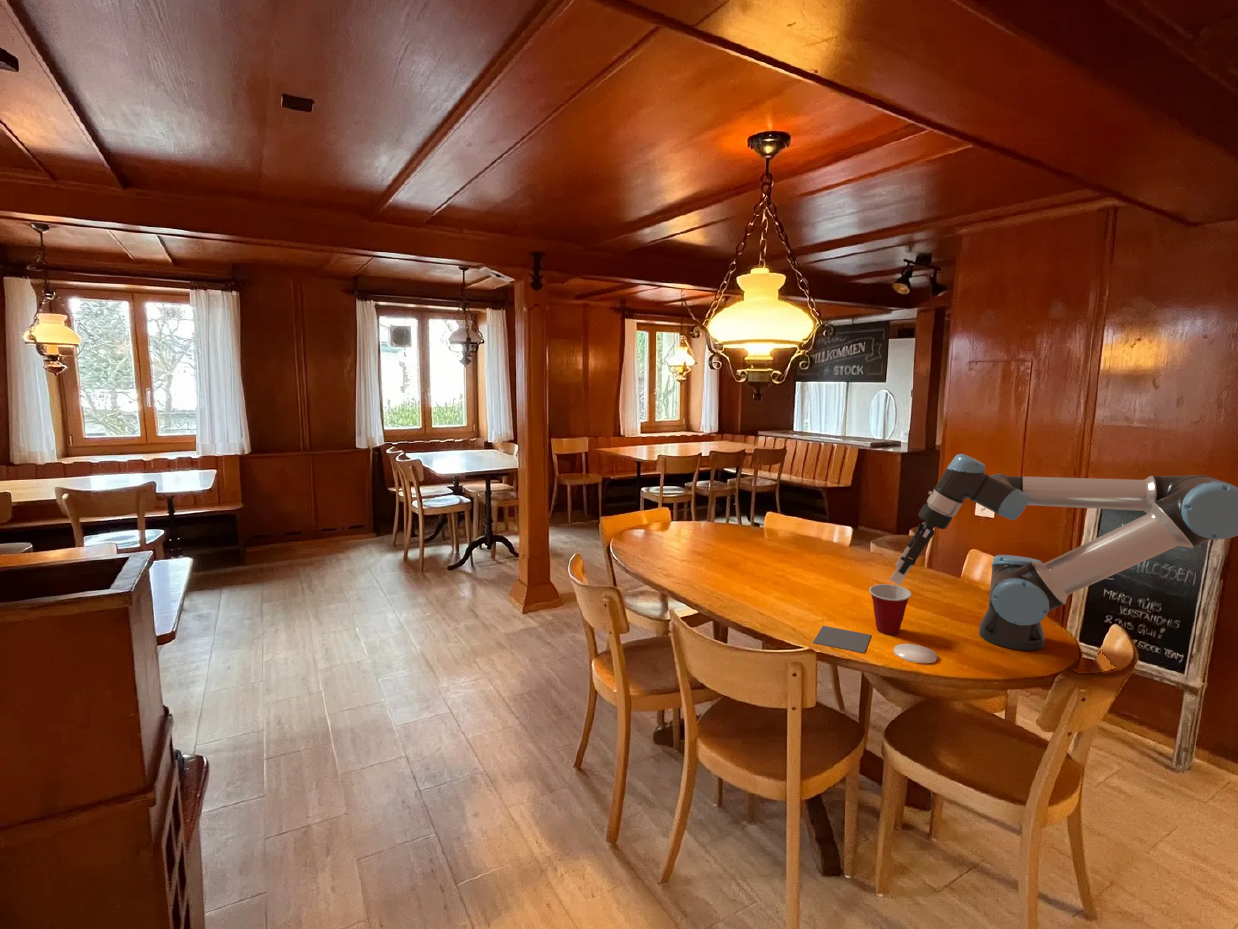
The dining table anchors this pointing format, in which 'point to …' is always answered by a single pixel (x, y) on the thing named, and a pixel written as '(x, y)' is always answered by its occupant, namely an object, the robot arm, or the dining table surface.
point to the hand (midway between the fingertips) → (897, 575)
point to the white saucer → (915, 653)
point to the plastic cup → (889, 606)
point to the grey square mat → (842, 639)
